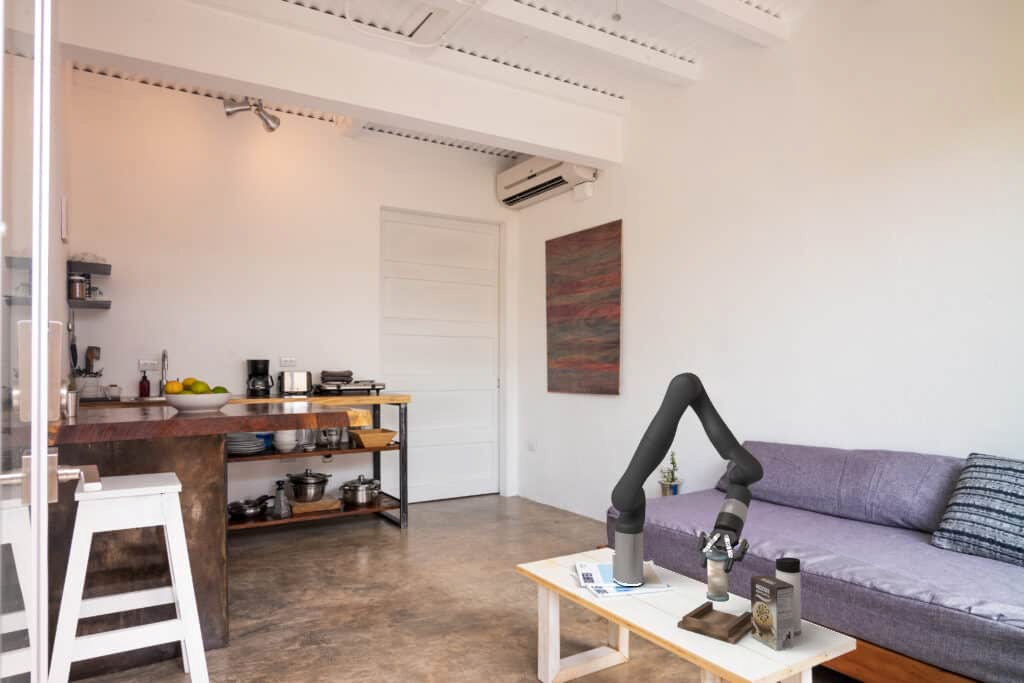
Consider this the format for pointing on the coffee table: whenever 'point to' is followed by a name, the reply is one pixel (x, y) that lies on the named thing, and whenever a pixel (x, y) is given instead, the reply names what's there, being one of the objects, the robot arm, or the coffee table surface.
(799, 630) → the travel mug
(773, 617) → the coffee box
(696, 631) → the open-sided brown tray
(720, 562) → the beige and blue cylinder
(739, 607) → the coffee table surface
